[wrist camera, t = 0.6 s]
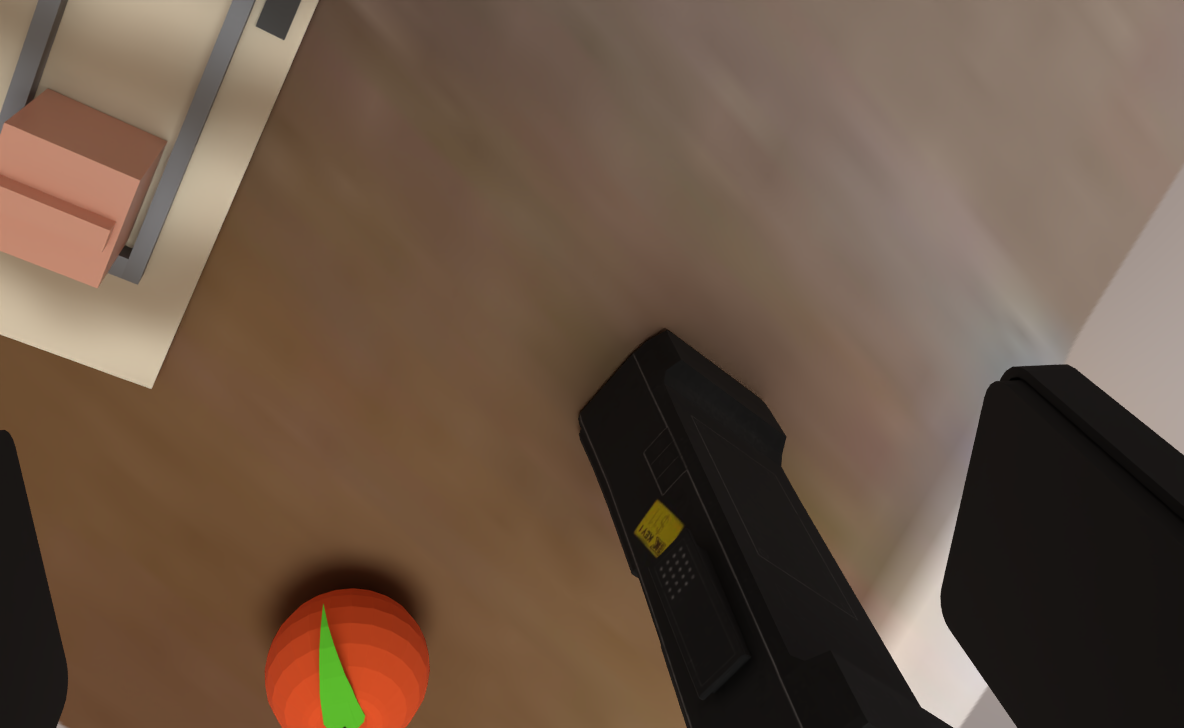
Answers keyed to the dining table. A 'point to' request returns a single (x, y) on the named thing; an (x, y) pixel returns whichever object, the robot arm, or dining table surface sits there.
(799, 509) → the portable radio
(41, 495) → the dining table surface
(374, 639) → the clementine
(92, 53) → the switch board
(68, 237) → the tab
